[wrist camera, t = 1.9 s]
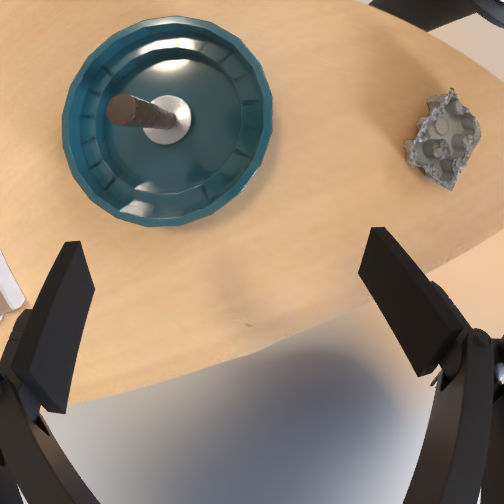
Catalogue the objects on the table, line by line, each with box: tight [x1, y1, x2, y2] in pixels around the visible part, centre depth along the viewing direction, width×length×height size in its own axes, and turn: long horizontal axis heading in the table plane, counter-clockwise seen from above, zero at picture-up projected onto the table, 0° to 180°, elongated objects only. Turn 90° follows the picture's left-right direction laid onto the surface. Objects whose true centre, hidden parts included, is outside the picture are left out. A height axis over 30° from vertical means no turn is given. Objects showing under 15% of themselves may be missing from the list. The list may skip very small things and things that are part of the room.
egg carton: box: [404, 88, 481, 191], centre depth 29 cm, size 11×8×4 cm
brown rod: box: [106, 93, 193, 145], centre depth 22 cm, size 5×5×14 cm
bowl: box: [62, 16, 272, 227], centre depth 27 cm, size 20×20×6 cm
